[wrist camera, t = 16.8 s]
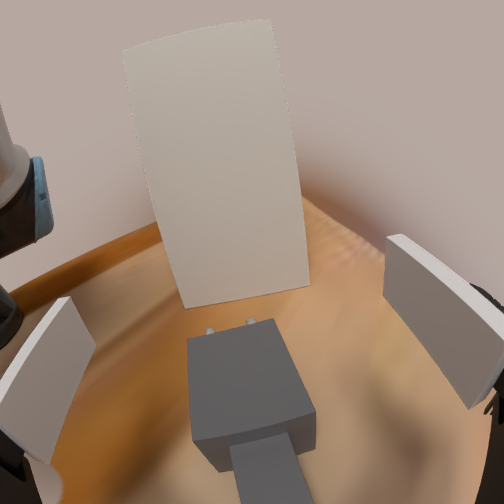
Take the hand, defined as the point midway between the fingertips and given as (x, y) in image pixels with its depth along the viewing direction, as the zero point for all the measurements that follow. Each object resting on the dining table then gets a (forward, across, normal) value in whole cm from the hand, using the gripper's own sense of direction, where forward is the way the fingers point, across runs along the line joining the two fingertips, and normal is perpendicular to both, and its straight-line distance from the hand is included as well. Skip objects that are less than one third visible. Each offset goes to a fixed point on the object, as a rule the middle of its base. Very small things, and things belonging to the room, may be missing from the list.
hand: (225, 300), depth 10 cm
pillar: (+23, 0, -11) cm, 25 cm away
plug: (-2, 0, -11) cm, 11 cm away
